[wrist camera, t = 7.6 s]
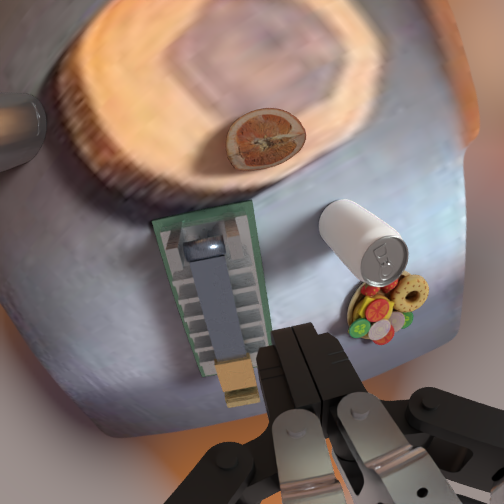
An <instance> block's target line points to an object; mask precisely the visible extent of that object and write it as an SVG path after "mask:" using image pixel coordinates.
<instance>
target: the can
mask: <svg viewBox="0 0 504 504" xmlns="http://www.w3.org/2000/svg"><path fill="white" fill-rule="evenodd" d="M319 232H320V235H321V237H322V238H323V240H324V241H325V242H326V243H327V245H328V246H329V247H330V248H331V249H332V250H333V251H334V253H335V254H336V255H337V256H338V257H339V258H340V260H341V261H342V262H343V263H344V264H345V265H346V266H347V268H348V269H349V270H350V271H351V272H352V273H353V274H354V275H355V276H356V277H357V278H358V279H359V280H360V281H362V282H365V283H367V284H368V285H370V286H373V287H384V286H387V285H389V284H391V283H393V282H394V281H395V280H397V279H398V278H399V277H400V276H401V274H402V273H403V271H404V270H405V268H406V265H407V262H408V248H407V245H406V244H405V242H404V241H403V239H402V237H401V235H400V234H399V233H398V232H397V231H396V230H395V229H394V228H392V227H391V226H390V225H388V224H387V223H385V222H384V221H382V220H381V219H380V218H378V217H377V216H375V215H374V214H372V213H371V212H369V211H368V210H366V209H365V208H363V207H362V206H360V205H358V204H357V203H355V202H353V201H351V200H346V199H342V200H337V201H335V202H333V203H331V204H330V205H328V206H327V207H326V208H325V210H324V211H323V213H322V214H321V217H320V220H319Z"/></svg>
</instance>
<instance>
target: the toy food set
mask: <svg viewBox="0 0 504 504" xmlns="http://www.w3.org/2000/svg"><path fill="white" fill-rule="evenodd" d="M428 293H429V287H428V284H427V282H426V281H425V279H424V278H423V277H421V276H419V275H411V274H410V273H408V272H407V271H405V270H404V271H403V273H402V274H401V276H400V277H399V278H398V279H397V280H395V281H394V282H393V283H391V284H389V285H387V286H384V287H373V286H370V285H368V284H367V283H365V282H364V283H363V284H362V285H361V286H360V287H359V288H358V289H357V290H356V292H355V293H354V295H353V297H352V299H351V301H350V303H349V306H348V311H347V322H348V325H349V329H348V333H349V334H350V335H351V337H353V338H360V337H361V338H364V339H371V340H373V342H374V343H376V344H378V345H384V344H386V343H388V342H389V341H390V340H391V339H392V338H393V336H394V332H397V331H399V330H400V329H404V328H406V327H408V326H409V325H410V324H411V323H412V321H413V313H412V311H414V310H416V309H417V308H419V307H420V306H421V305H423V303H424V302H425V301H426V299H427V297H428Z"/></svg>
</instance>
